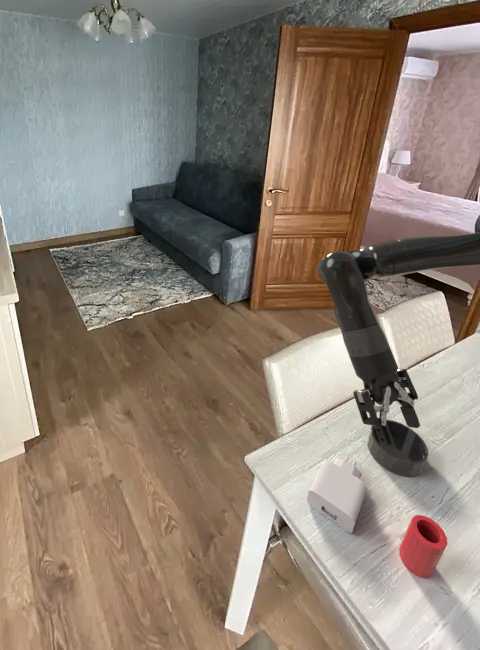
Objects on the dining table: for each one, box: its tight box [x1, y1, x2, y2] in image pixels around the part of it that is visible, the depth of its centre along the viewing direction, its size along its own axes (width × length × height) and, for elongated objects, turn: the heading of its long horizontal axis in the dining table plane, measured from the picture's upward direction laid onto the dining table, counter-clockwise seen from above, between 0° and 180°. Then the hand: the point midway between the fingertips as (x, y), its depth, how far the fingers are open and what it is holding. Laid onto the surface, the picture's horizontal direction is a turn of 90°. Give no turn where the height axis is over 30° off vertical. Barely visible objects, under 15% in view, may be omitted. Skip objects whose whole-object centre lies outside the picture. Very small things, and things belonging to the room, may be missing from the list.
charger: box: [306, 456, 368, 534], centre depth 76 cm, size 5×9×15 cm
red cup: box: [398, 514, 448, 579], centre depth 64 cm, size 5×5×9 cm
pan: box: [366, 419, 430, 478], centre depth 85 cm, size 12×12×4 cm
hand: (402, 436), depth 64 cm, fingers open, 8 cm apart
